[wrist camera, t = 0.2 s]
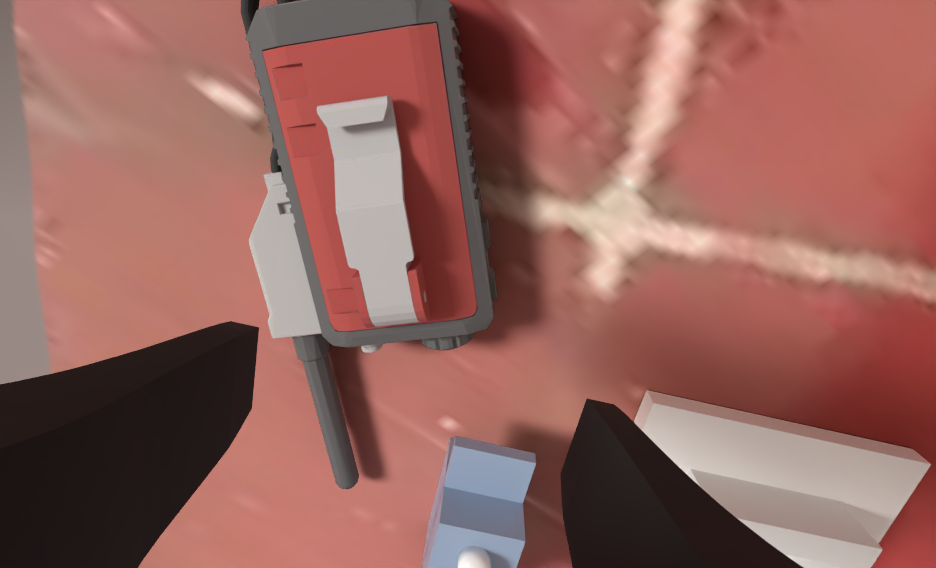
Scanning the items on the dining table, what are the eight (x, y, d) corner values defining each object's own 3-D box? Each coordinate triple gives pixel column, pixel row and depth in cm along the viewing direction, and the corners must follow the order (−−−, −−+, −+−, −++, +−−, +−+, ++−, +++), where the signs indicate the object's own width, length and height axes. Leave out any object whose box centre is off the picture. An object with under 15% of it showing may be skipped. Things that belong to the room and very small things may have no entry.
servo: (483, 563, 26) (480, 689, 20) (421, 550, 26) (401, 673, 20) (530, 415, 23) (542, 516, 17) (459, 399, 22) (449, 496, 17)
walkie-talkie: (205, -2, 18) (334, 467, 24) (117, -32, 14) (302, 543, 20) (455, -45, 17) (518, 452, 24) (443, -91, 13) (524, 527, 20)
